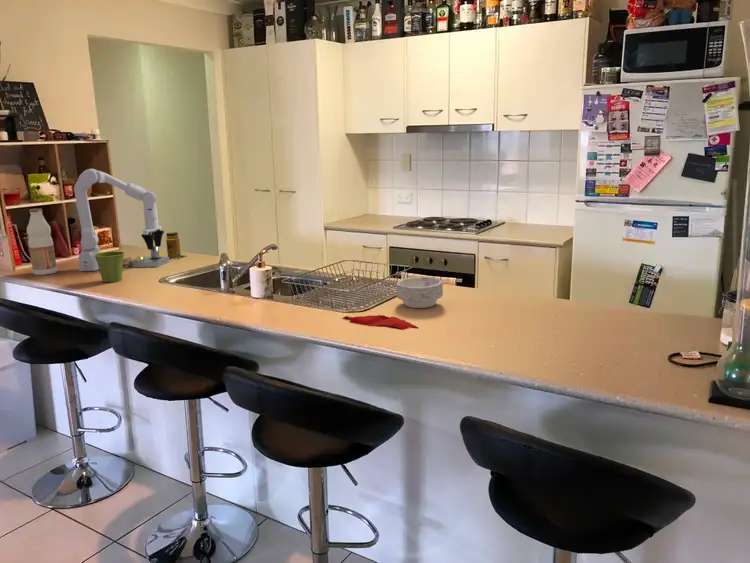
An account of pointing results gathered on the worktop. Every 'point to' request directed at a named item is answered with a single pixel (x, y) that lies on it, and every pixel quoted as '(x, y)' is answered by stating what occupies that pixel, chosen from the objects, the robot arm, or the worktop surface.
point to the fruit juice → (40, 244)
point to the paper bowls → (419, 291)
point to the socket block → (150, 262)
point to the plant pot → (110, 265)
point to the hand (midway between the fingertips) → (154, 248)
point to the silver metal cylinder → (155, 253)
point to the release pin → (139, 258)
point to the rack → (128, 262)
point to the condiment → (173, 245)
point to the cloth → (381, 321)
